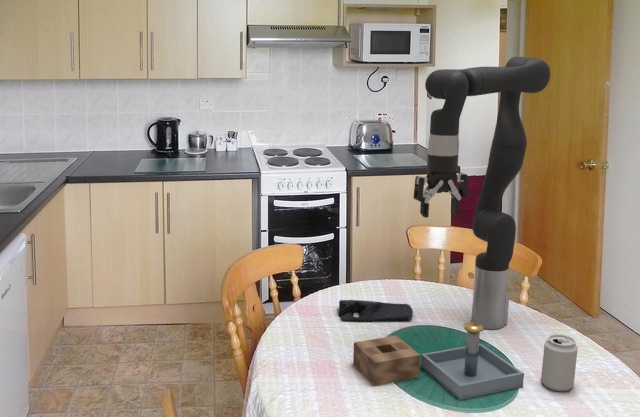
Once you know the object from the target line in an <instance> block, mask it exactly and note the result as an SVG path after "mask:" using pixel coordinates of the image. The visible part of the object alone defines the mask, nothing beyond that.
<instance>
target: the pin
mask: <svg viewBox="0 0 640 417" xmlns="http://www.w3.org/2000/svg"><path fill="white" fill-rule="evenodd" d="M463 326H464V327H463V329H464V330H465V331H466V339H465V342H466V343H465V346H466V353H465V367H464V374H465V375H466V376H469V377H474V376H476V375H477V363H478V350H479V344H480V335H481V334H480V333H481V332H483V331H484V329H483V325H482V324H480V323H477V322H471V321H469V322H465V323H464V325H463Z"/></svg>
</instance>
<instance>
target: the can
mask: <svg viewBox="0 0 640 417" xmlns="http://www.w3.org/2000/svg"><path fill="white" fill-rule="evenodd" d="M576 342H577V341H576V340H575V338H573V337H572V336H570V335H566V334H560V333H559V334H558V333H556V334H551V335H549V336H548V337H547V340H545V341H544V346H543V356H542V366H541V373H540V374H541V377H540V381H541V383H542V384H543V385H544V386H545V387H546V388H547V389H549V390H551V391H554V392H555V391H556V392H567V391H569V390H570V389H572V388H573V387H574V386H575V385H574V384H575V376H576V375H575V374H576V368H577V360H578V359H577V358H578V350H579V349H578V348H579V347H578V345H577V344H576Z"/></svg>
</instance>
